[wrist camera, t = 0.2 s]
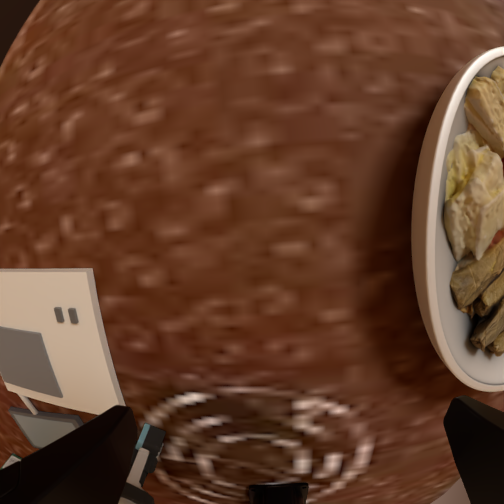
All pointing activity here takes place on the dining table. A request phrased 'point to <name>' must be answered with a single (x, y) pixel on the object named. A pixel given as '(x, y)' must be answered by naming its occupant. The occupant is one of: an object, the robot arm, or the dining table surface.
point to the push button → (142, 465)
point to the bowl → (464, 224)
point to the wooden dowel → (29, 404)
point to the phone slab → (44, 425)
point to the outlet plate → (56, 339)
